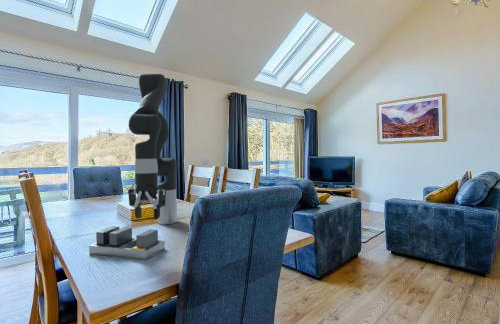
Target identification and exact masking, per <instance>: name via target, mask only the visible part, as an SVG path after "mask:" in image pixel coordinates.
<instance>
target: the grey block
mask: <svg viewBox="0 0 500 324" xmlns="http://www.w3.org/2000/svg"><path fill="white" fill-rule="evenodd" d="M135 238H136V241H137V247H138V248H145V250H147V249H148V248H150V247H152V246H154V245H156V244H157V243H158V240H159V229H155V228H154V229H151V228H150V229H148V230H145V231H143V232H142V233H139V234H137V235H136V237H135Z"/></svg>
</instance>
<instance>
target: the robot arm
mask: <svg viewBox="0 0 500 324" xmlns="http://www.w3.org/2000/svg"><path fill="white" fill-rule="evenodd" d="M138 85H139V90H140V96H141V101H140V102H139V106H138V108H137V109H136V110H135V111H134V112H133V113H132V114H131V116H130V117H129V121H128V129H129V131H130V132H131V133H132V134H134V135H136V136H137V135H138V136H139V135H141V136H149V137H148V139H146V140H143V141H138V142H135V146H134V150H135V151H134V153H135V154H134V155H135V157H134V158H135V159H134V160H135V161H134V182H135V183H134V184H135V188H129V189H128V190H127V195H128V204H129V206H130V207H133V208H134V217H135V218H136V219H140V218H142V207H141V206H142V204H143V202H144V201H147V202H149V203H150V204H151V205H152V207H153V220H157V223H158V224H159V225H172V224H173V225H174V224H176V223H177V222H178V203H177V160H176V158H174V157H163V158H162V157H161V153H162V150H163V148H164V146H165V144H166V143H167V141H168V139H169V136H170V131H169V130H170V129H169V124H168V121H167V118H165V116H164V115H163V114H162V113H161V112H160V106H161V103H162V102H163V100H164V98H165V96H166V93H167V89H168V85H167V80H166V77H165V75H164V74H162V73H141V74H139V76H138ZM159 177H168V179H166V180H165V181H162V182H160V183H159Z"/></svg>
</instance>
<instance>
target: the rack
mask: <svg viewBox="0 0 500 324" xmlns="http://www.w3.org/2000/svg"><path fill="white" fill-rule="evenodd" d="M95 235H96V236H95V237H96V239H95V240H96V242H95V243H92V244H89V246H88V248H89V255H95V256H103V257H112V258H122V259H130V260H131V259H132V260H140V261H141V260H142V261H147V260H149V259H151V258H152V257H154V256H156V255H157V254H159V253H160V252H162V251H164V250H165V249H166V248H165V247H166V246H165V244H166V242H165V240H162V239H161V240H160V239H158V243H157V244H156V245H154V246H152V247H150V248H148V249H147V250H145V248H138V247H137V241H136V237H133V228H132V227H129V226H125V227H122V228H120V226H115V225H112V226H109V227H107V228H104V229H100V230H98V231H96V232H95Z"/></svg>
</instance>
